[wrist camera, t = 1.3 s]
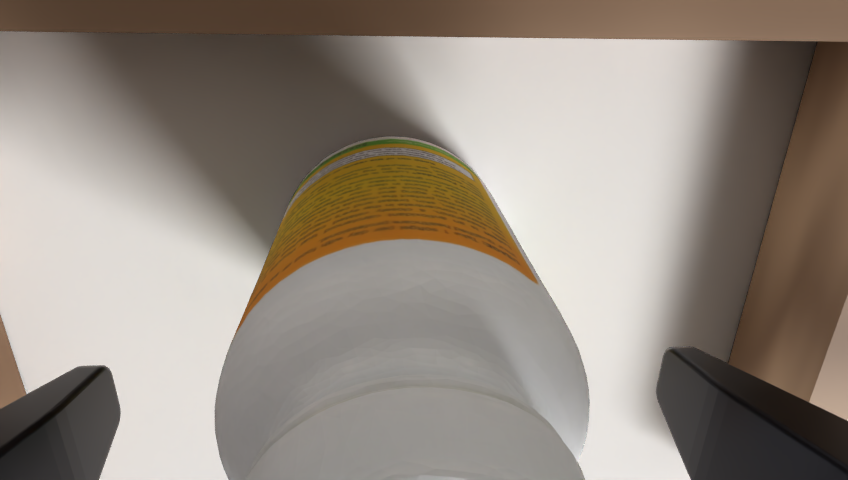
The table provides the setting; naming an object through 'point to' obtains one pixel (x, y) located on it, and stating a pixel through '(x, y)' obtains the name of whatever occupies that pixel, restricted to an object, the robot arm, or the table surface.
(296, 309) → the supplement bottle
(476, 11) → the walnut stall
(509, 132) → the table surface
